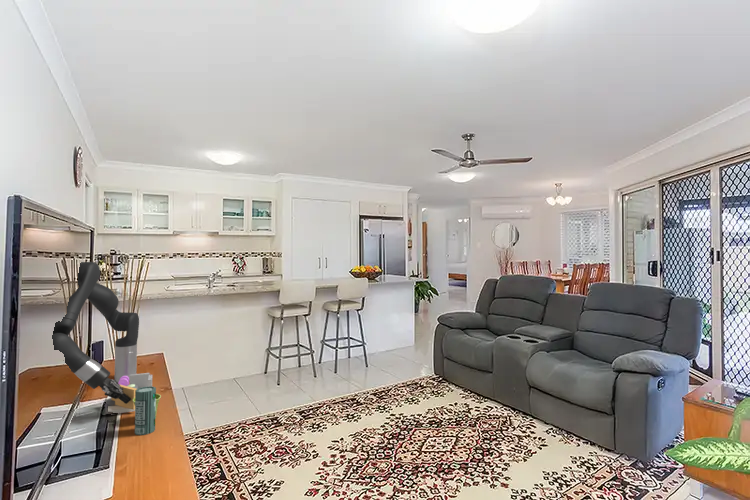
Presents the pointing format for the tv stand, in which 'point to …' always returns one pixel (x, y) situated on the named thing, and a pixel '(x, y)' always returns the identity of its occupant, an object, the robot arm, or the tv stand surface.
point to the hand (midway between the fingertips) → (128, 401)
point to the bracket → (124, 380)
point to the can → (145, 410)
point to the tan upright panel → (130, 404)
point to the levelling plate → (118, 408)
